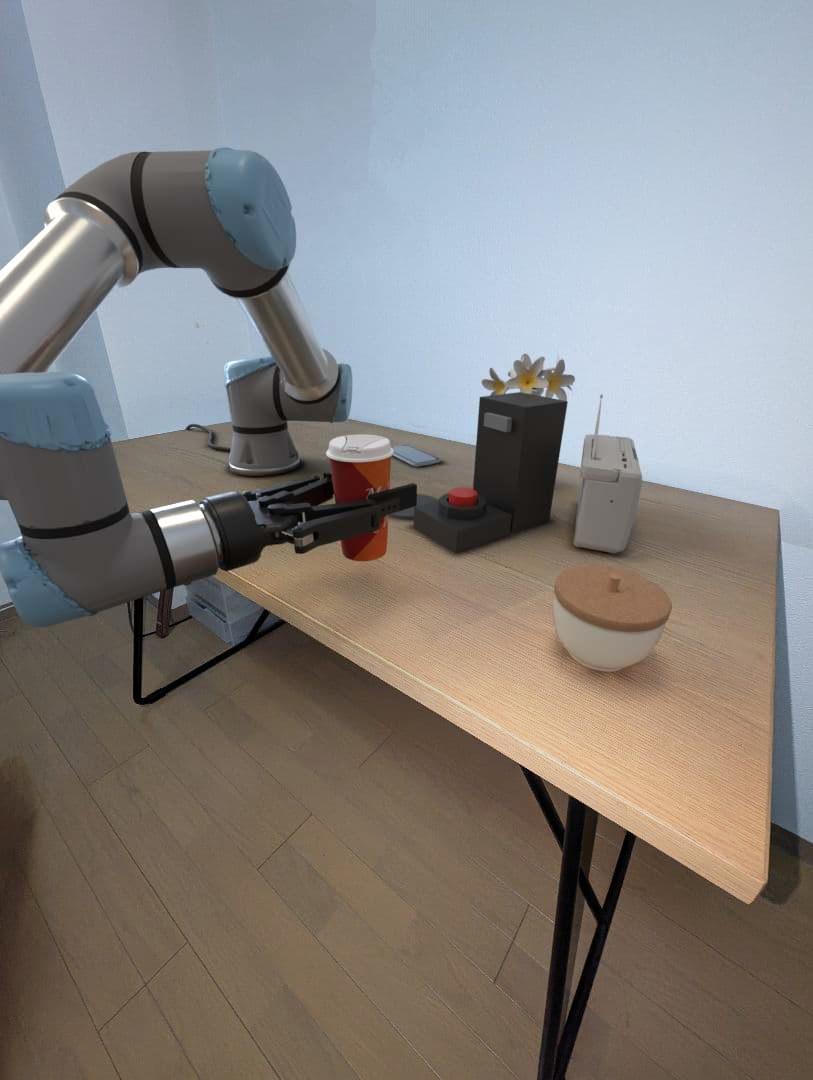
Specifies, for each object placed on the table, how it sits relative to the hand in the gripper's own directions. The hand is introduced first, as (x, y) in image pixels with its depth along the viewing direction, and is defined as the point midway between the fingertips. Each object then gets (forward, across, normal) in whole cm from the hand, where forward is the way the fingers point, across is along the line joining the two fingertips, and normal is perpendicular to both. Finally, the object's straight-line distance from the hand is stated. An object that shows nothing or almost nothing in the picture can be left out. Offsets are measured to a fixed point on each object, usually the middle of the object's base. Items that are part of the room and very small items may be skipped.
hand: (396, 486), depth 59 cm
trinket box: (+7, +26, -13) cm, 30 cm away
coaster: (+16, -17, -13) cm, 27 cm away
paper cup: (-5, 0, -8) cm, 9 cm away
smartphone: (+37, -42, -13) cm, 57 cm away
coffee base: (+16, -4, -13) cm, 21 cm away
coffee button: (+16, -4, -8) cm, 19 cm away
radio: (+35, +9, -13) cm, 39 cm away
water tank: (+27, -3, -13) cm, 30 cm away
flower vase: (+42, -13, -13) cm, 46 cm away
